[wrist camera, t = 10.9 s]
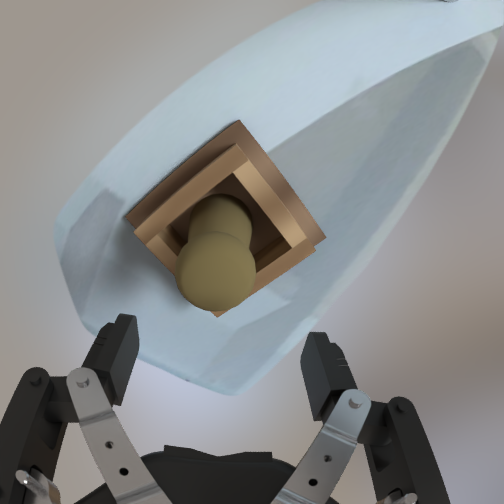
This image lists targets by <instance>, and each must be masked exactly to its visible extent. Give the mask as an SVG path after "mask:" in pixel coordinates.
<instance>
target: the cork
mask: <svg viewBox="0 0 504 504" xmlns="http://www.w3.org/2000/svg"><path fill="white" fill-rule="evenodd" d="M252 230H253V219H252V215H251V212H250V210H249V208H248V207H247V206H246V205H245V204H244V203H243V202H242V200H240V199H238V198H236V197H234V196H233V195H229V194H223V193H220V194H212V195H209V196H207V197H205V198H203V199H201V200H200V201H199V202H198V203H197V204H196V205H195V206H194V208H193V210H192V212H191V214H190V219H189V231H188V243H187V244H186V245H185V246H184V247H183V248H182V250H181V252H180V254H179V256H178V258H177V260H176V264H175V278H176V282H177V286H178V289H179V290H180V292H181V293H182V295H183V296H184V298H186V299H187V300H188V301H189V302H190V303H192V304H193V305H194V306H196V307H198V308H201V309H203V310H207V311H213V312H217V311H226V310H228V309H231V308H233V307H236V306H238V305H239V304H240V303H241V302H243V301H244V300H245V299H246V298H247V297H248V295H249V294H250V292H251V291H252V289H253V286H254V282H255V278H256V267H255V261H254V258H253V256H252V254H251V252H250V250H249V245H250V240H251V235H252Z"/></svg>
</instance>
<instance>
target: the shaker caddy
mask: <svg viewBox="0 0 504 504" xmlns="http://www.w3.org/2000/svg"><path fill="white" fill-rule="evenodd" d="M220 193H223V194H229V195H233V196H234V197H236V198H238V199H240V200H242V202H243V203H244V204H245V205H246V206H247V207H248V208H249V210H250V212H251V215H252V219H253V230H252V235H251V240H250V245H249V250H250V252H251V254H252V256H253V258H254V261H255V267H256V278H255V282H254V286H253V289H252V291H251V292H250V294H249V295H248V297H249V296H251V295H252V294H254V293H255V292H257V291H258V290H260V289H261V288H263V287H264V286H266V285H267V284H269V283H270V282H272V281H273V280H275V279H276V278H277V277H279V276H280V275H282V274H283V273H285V272H286V271H288V270H289V269H291V268H292V267H293V266H295V265H296V264H298V263H299V262H301V261H302V260H304V259H305V258H306V257H308V256H309V255H311V254H312V253H314V252H315V251H316V250H315V248H314V246H315V245H317V244H318V243H320V242H321V241H322V240H324V239H325V238H326V236H325V235H324V233H323V232H322V230H321V229H320V227H319V226H318V224H317V223H316V222H315V220H314V219H313V217H312V216H311V214H310V213H309V211H308V210H307V209H306V207H305V206H304V204H303V203H302V202H301V200H300V199H299V197H298V196H297V195H296V193H295V192H294V190H293V189H292V188H291V186H290V185H289V183H288V182H287V181H286V179H285V178H284V177H283V175H282V174H281V173H280V171H279V170H278V169H277V167H276V166H275V165H274V163H273V162H272V161H271V159H270V158H269V157H268V155H267V154H266V153H265V151H264V150H263V149H262V148H261V146H260V145H259V144H258V142H257V141H256V140H255V139H254V137H253V136H252V135H251V134H250V132H249V131H248V130H247V129H246V127H245V126H244V125H243V124H242V122H241V121H240V120H238V121H236V122H235V123H234V124H232V125H231V126H230V127H228V128H227V129H226V130H224V131H223V132H222V133H220V134H219V135H218V136H217V137H215V138H214V139H213V140H211V141H210V142H209V143H208V144H206V145H205V146H204V147H203V148H201V149H200V150H199V151H198V152H197V153H195V154H194V155H193V156H192V157H191V158H189V159H188V160H187V161H186V162H185V163H183V164H182V165H181V166H180V167H179V168H178V169H176V170H175V171H174V172H173V173H172V174H171V175H169V176H168V177H167V178H166V179H165V180H164V181H163V182H162V183H160V184H159V185H158V186H157V187H156V188H155V189H154V190H153V191H152V192H151V193H150V194H148V195H147V196H146V197H145V198H144V199H143V200H142V201H141V202H140V203H139V204H138V205H137V206H136V207H135V208H134V209H133V210H132V211H131V212H130V213H129V214H128V215H127V216H126V218H127V220H128V221H129V222H130V223H131V224H132V225H133V226H134V227H135V229H136V230H135V231H134V234H135V235H136V236H137V237H138V238H139V239H140V240H141V241H142V242H143V243H144V244H145V246H146V247H147V248H148V249H149V250H150V251H151V252H152V253H153V254H154V255H155V256H156V257H157V258H158V259H159V260H160V261H161V262H162V263H163V265H164V266H165V267H166V268H167V269H168V270H169V271H170V272H171V273H172V274H173V275H174V276H175V264H176V260H177V258H178V256H179V254H180V252H181V250H182V248H183V247H184V246H185V245H186V244H187V243H188V231H189V219H190V214H191V212H192V210H193V208H194V206H195V205H196V204H197V203H198V202H199V201H200V200H201V199H203V198H205V197H207V196H209V195H212V194H220ZM248 297H247V298H248ZM228 310H230V309H228ZM228 310H226V311H217V312H213V311H211V312H212V313H213V314H214V315H215V316H216V317H219V316H221V315H222V314H224V313H225V312H227V311H228Z"/></svg>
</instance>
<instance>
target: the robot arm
mask: <svg viewBox="0 0 504 504" xmlns="http://www.w3.org/2000/svg"><path fill="white" fill-rule="evenodd" d="M444 1H447V2H455V1H457V0H444ZM138 351H139V334H138V327H137V319H136V316H134V315H127V314H121V313H120V314H119V315H118V317H117V319H116V321H115V323H110V322H109V323H107V324H106V325H105V326H104V327H102V328H101V330H100V331H99V333H98V335H97V338H96V339H95V341H94V344H93V345H92V347H91V349H90V351H89V352H88V355H87V356H86V359H85V361H84V362H83V365H82V366H81V368H77V369H74V370H73V371H71V372H70V373H69V375H68V376H64V377H50V376H49V374H48V372H47V371H46V370H45V369H43V368H40V367H34V368H31V369H29V370H27V371H26V372H25V373H24V374H23V376H22V378H21V380H20V382H19V384H18V386H17V388H16V390H15V392H14V394H13V397H12V399H11V401H10V403H9V405H8V407H7V410H6V412H5V414H4V417H3V419H2V421H1V424H0V504H61V503H60V492H59V490H58V488H57V486H56V485H55V484H54V483H53V482H52V481H53V477H54V473H55V469H56V464H57V460H58V457H59V452H60V449H61V445H62V441H63V438H64V435H65V431H66V428H67V425H68V422H70V423H71V422H72V423H73V422H75V423H79V425H80V428H81V430H82V433H83V435H84V438H85V440H86V442H87V445H88V447H89V449H90V451H91V453H92V456H93V457H94V460H95V462H96V464H97V466H98V468H99V470H100V472H101V474H102V476H103V478H104V480H105V483H104V484H102V485H101V486H100V487H98V488H97V489H95V490H94V491H93V492H91V493H89V494H88V495H86V496H85V497H83V498H82V499H80V500H79V501H77V502H76V503H74V504H339V503H338V502H337V501H335V500H334V499H333V498H331V497H330V495H331V493H332V491H333V490H334V488H335V486H336V484H337V483H338V481H339V479H340V477H341V475H342V473H343V472H344V470H345V468H346V466H347V464H348V462H349V460H350V458H351V456H352V454H353V452H354V450H355V448H356V445H357V443H361V444H364V448H365V452H366V456H367V460H368V464H369V468H370V472H371V476H372V480H373V485H374V490H375V494H376V499H377V503H376V504H450V500H449V497H448V494H447V491H446V488H445V485H444V482H443V479H442V476H441V473H440V470H439V468H438V465H437V462H436V460H435V457H434V454H433V451H432V449H431V446H430V443H429V441H428V438H427V436H426V433H425V431H424V428H423V426H422V424H421V421H420V419H419V416H418V414H417V412H416V409H415V407H414V405H413V404H412V402H411V401H409V400H408V399H406V398H404V397H394V398H392V399H391V400H390V401H389V403H382V402H375V401H371V400H370V398H369V396H368V395H367V394H366V393H364V392H363V391H361V390H358V388H357V386H356V383H355V381H354V378H353V376H352V373H351V371H350V368H349V366H348V363H347V361H346V360H345V356H344V354H343V352H342V350H341V349H340V347H339V346H337V344H336V343H330V341H329V339H328V336H327V334H326V333H325V332H309V334H308V337H307V340H306V343H305V346H304V349H303V352H302V355H301V361H300V363H301V370H302V374H303V378H304V382H305V386H306V390H307V394H308V398H309V402H310V406H311V411H312V415H313V420H314V421H322V422H323V427H322V428H321V430H320V432H319V433H318V435H317V436H316V438H315V440H314V441H313V443H312V444H311V446H310V447H309V449H308V450H307V452H306V453H305V455H304V456H303V458H302V459H301V460H300V462H299V463H298V465H297V466H296V468H295V467H294V466H292V465H290V464H289V463H287V462H284V461H282V460H278V459H274V458H272V452H243V453H237V454H232V455H226V456H214V455H210V454H207V453H203V452H201V451H197V450H194V449H191V448H183V447H176V446H169V445H164V451H159V452H153V453H150V454H147V455H144V456H142V457H139V456H138V454H137V452H136V450H135V449H134V447H133V445H132V444H131V442H130V440H129V438H128V436H127V435H126V433H125V431H124V429H123V427H122V425H121V424H120V422H119V420H118V418H117V416H116V414H115V412H114V411H113V409H112V407H113V404H114V405H118V406H121V404H122V401H123V397H124V394H125V391H126V387H127V385H128V381H129V378H130V375H131V372H132V369H133V366H134V363H135V360H136V357H137V355H138Z"/></svg>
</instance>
